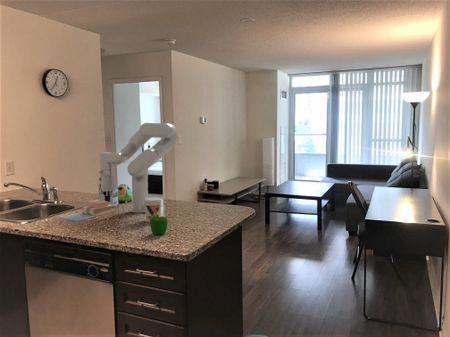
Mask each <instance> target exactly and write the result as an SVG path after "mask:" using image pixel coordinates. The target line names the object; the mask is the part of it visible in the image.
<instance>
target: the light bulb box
mask: <svg viewBox="0 0 450 337" xmlns="http://www.w3.org/2000/svg"><path fill="white" fill-rule="evenodd" d="M99 192H100V190H99V189H98V200H102V201H105V196H104V195H103V194H102V193H99ZM108 204H109V205H114V207H117V206H119V201H118V189H115V191H114V192H112V193H111V195H110V202H108Z"/></svg>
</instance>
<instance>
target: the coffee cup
mask: <svg viewBox="0 0 450 337" xmlns="http://www.w3.org/2000/svg"><path fill="white" fill-rule="evenodd" d="M144 203H145V212H144V215H145V221H146V222H148V223H150V219H151V218H154V217H156V215H155V216H154V215H153V214H158V215H159V217H161V210H162V198H160V197H148V198H146V199H145V200H144Z"/></svg>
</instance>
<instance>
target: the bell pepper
mask: <svg viewBox="0 0 450 337" xmlns="http://www.w3.org/2000/svg"><path fill="white" fill-rule="evenodd" d="M153 215H154V216H155V215H156V217H154V218H151V219H150V222H149V226H150V230H151V233H152V234H153V235H155V236H157V235H164V234H165V233H166V232H167V228H168V219H167V217H165V216H160V217H159V215H158V214H153Z"/></svg>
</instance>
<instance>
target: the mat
mask: <svg viewBox="0 0 450 337" xmlns="http://www.w3.org/2000/svg"><path fill="white" fill-rule="evenodd" d="M95 217H96V216H92V215H87V214H83V213H80V212H79V213H72V214H67V215H63V216H59V217H58V219H63V220H67V221H70V222H79V221H83V220H88V219H93V218H95Z"/></svg>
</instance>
